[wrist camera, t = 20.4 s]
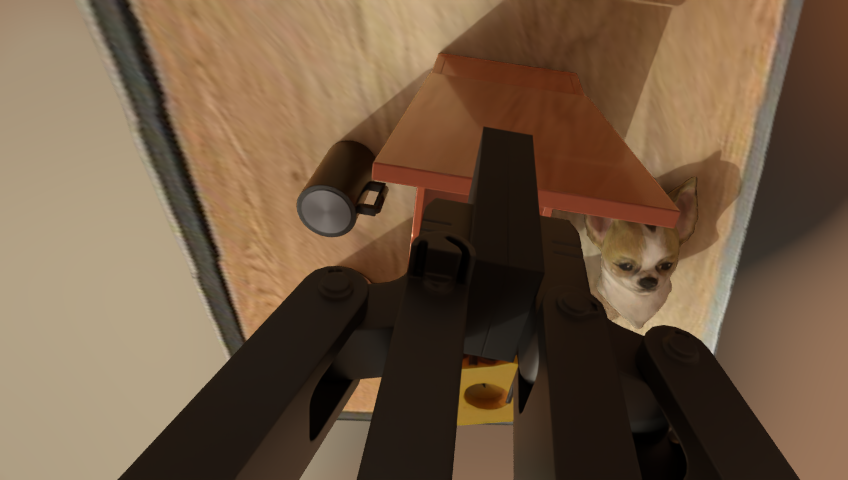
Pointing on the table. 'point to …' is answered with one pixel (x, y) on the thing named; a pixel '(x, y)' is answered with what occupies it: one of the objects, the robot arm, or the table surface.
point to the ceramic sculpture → (641, 257)
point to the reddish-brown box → (498, 74)
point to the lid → (553, 148)
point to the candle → (485, 390)
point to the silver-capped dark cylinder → (340, 190)
